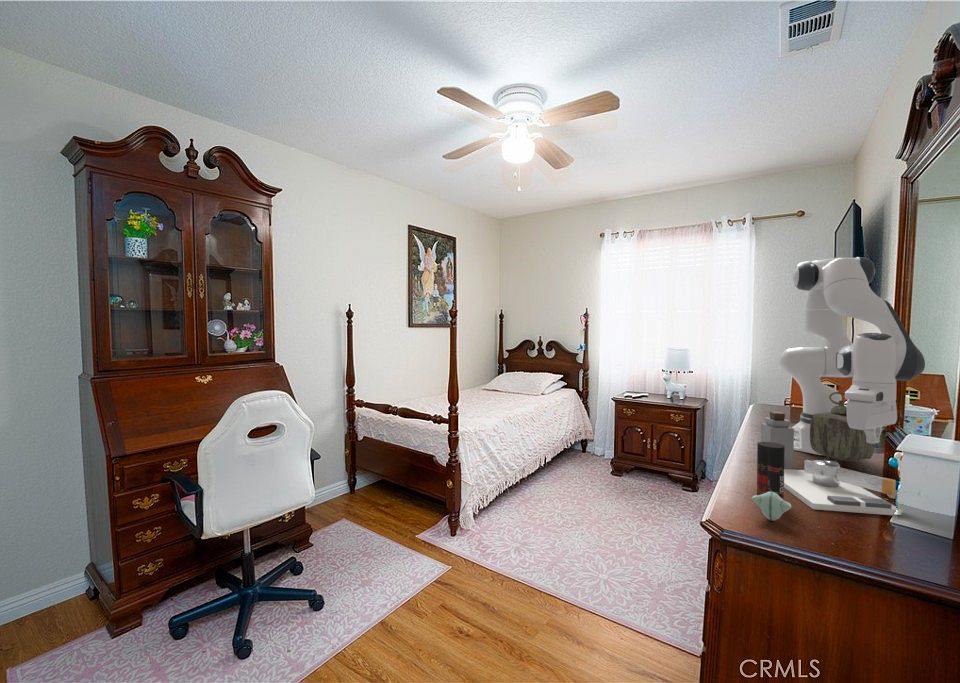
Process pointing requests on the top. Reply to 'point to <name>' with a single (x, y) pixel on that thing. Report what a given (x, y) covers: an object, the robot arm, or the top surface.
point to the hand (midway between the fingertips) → (872, 442)
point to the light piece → (846, 476)
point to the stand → (834, 495)
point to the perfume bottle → (779, 435)
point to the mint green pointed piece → (771, 505)
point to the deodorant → (770, 468)
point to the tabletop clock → (838, 436)
